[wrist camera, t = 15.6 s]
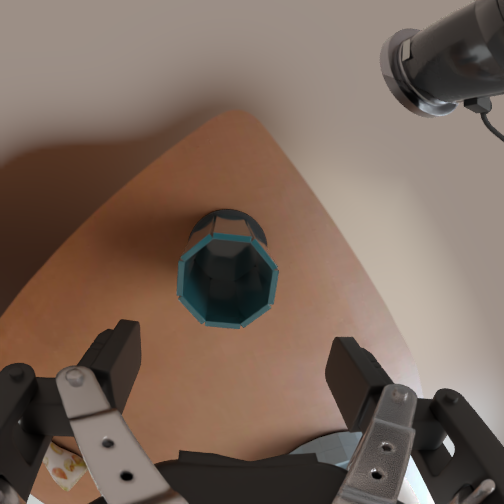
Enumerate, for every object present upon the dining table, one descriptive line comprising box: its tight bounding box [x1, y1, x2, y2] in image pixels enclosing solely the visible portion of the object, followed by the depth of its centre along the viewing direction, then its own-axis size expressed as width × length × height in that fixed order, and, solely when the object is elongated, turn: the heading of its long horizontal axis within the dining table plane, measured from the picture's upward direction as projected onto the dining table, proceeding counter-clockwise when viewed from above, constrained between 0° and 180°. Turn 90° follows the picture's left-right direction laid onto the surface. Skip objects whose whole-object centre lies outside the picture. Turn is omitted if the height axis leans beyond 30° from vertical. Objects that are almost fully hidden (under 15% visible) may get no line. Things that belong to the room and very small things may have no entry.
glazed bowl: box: [289, 432, 363, 469], centre depth 35 cm, size 16×16×6 cm
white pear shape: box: [43, 441, 88, 491], centre depth 31 cm, size 8×10×10 cm
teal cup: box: [177, 214, 279, 329], centre depth 23 cm, size 6×6×9 cm
